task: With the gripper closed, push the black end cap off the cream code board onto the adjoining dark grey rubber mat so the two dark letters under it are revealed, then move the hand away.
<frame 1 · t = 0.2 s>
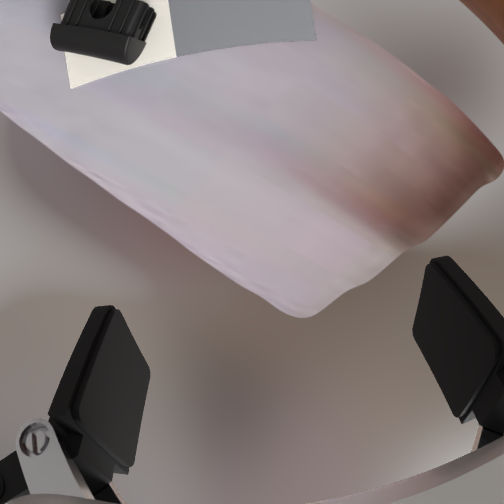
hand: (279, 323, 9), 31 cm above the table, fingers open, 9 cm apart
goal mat: (240, 3, 28), on the table
end cap: (114, 31, 28), on the table, touching code board
code board: (114, 31, 28), on the table
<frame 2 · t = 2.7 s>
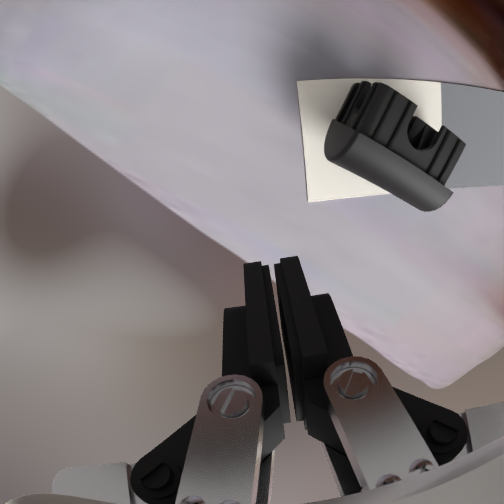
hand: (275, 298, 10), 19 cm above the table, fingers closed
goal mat: (494, 139, 25), on the table
end cap: (378, 138, 26), on the table, touching code board
code board: (378, 138, 26), on the table
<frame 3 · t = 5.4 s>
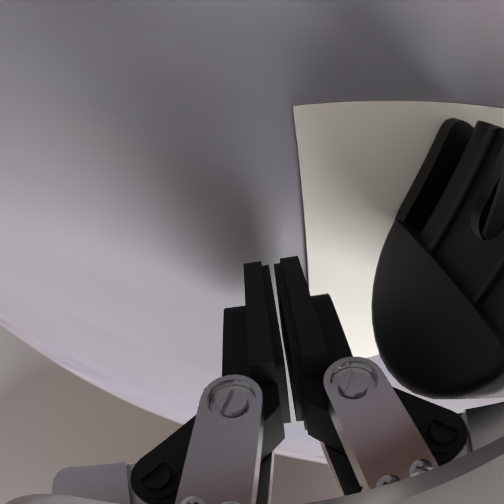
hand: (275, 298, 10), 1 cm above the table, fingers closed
end cap: (472, 240, 11), on the table, touching gripper
code board: (468, 240, 11), on the table
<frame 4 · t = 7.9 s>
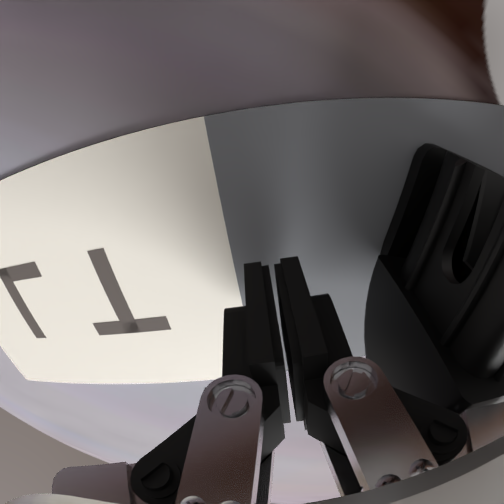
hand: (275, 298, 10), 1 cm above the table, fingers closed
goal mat: (441, 242, 11), on the table
end cap: (466, 249, 11), on the table, touching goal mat
code board: (69, 298, 11), on the table
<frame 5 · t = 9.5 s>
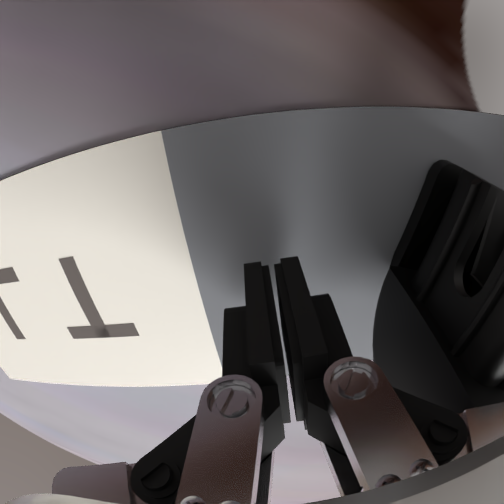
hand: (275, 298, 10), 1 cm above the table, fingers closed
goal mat: (412, 256, 11), on the table
end cap: (470, 262, 11), on the table, touching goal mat
code board: (44, 303, 11), on the table
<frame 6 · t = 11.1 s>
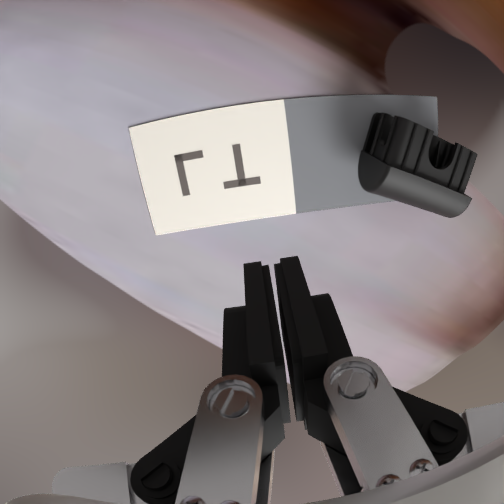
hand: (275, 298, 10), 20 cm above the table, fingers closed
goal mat: (371, 150, 28), on the table
end cap: (400, 157, 29), on the table, touching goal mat
code board: (214, 169, 28), on the table
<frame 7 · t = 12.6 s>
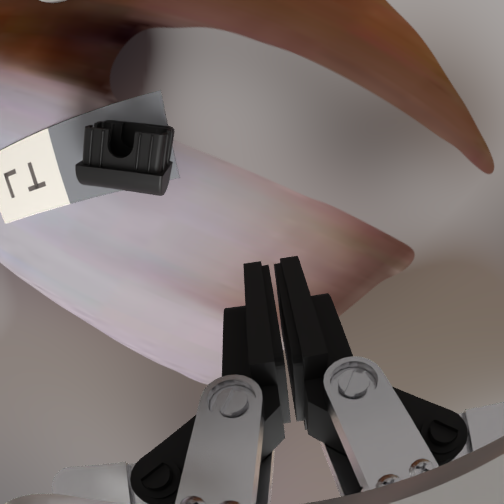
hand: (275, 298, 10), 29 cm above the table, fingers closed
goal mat: (109, 150, 35), on the table
end cap: (135, 150, 35), on the table, touching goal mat
code board: (22, 179, 35), on the table
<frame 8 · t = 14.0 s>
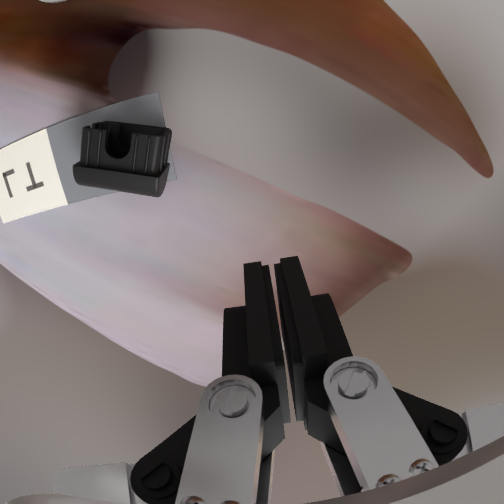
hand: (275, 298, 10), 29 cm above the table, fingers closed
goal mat: (106, 150, 35), on the table
end cap: (133, 151, 35), on the table, touching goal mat
code board: (21, 179, 35), on the table
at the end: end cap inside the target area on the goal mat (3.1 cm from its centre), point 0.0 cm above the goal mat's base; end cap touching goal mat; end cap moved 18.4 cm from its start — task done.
